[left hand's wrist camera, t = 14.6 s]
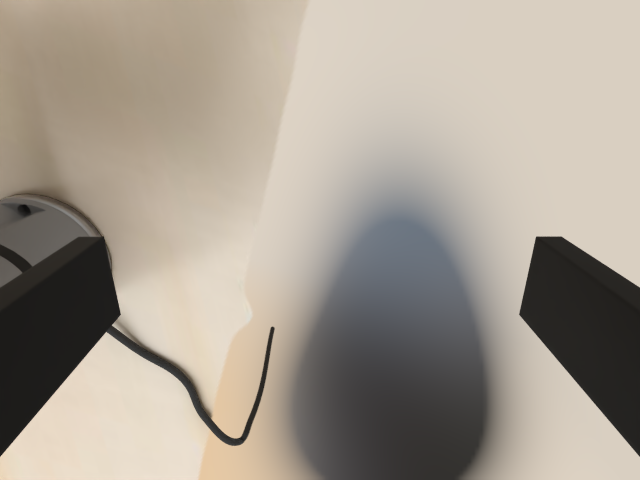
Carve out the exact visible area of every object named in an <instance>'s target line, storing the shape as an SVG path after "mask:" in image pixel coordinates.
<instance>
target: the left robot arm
mask: <svg viewBox="0 0 640 480" xmlns="http://www.w3.org/2000/svg"><path fill="white" fill-rule="evenodd" d="M120 315H121V314H120V309H119V304H118V300H117V295H116V290H115V286H114V281H113V277H112V272H111V259H110V255H109V252H108V249H107V246H106V244H105V240H104V237H101V235H100V233H99V232H98V231H97V229H96V228H95V227H94V226H93V225H92V224H91V222H90V221H89V220H88V219H86V218H85V217H84V216H83V215H82V214H81V213H79V212H78V211H76V210H75V209H73V208H72V207H70V206H68V205H67V204H65V203H62V202H60V201H58V200H55V199H53V198H49V197H46V196H40V195H33V194H22V195H14V196H10V197H7V198H4V199H1V200H0V456H1V455H2V454H3V453H4V452H5V450H6V449H7V448H8V447H9V446H10V445H11V443H12V442H13V441H14V440H15V439H16V437H17V436H18V435H19V434H20V433H21V432H22V430H23V429H24V428H25V427H26V426H27V425H28V423H29V422H30V421H31V420H32V419H33V417H34V416H35V415H36V414H37V413H38V412H39V410H40V409H41V408H42V407H43V406H44V404H45V403H46V402H47V401H48V400H49V399H50V397H51V396H52V395H53V394H54V393H55V391H56V390H57V389H58V388H59V387H60V386H61V384H62V383H63V382H64V381H65V380H66V379H67V377H68V376H69V375H70V374H71V373H72V371H73V370H74V369H75V368H76V367H77V366H78V364H79V363H80V362H81V361H82V360H83V358H84V357H85V356H86V355H87V354H88V353H89V351H90V350H91V349H92V348H93V347H94V346H95V344H96V343H97V342H98V341H99V340H100V338H101V337H102V336H103V335H104V334H105V333H106V332H107V333H109V334H110V335H112V336H113V337H114V338H116V339H117V340H118V341H120V342H121V343H122V344H124V345H125V346H127V347H128V348H129V349H131V350H132V351H134V352H135V353H137V354H138V355H140V356H142V357H143V358H145V359H147V360H149V361H150V362H152V363H154V364H156V365H158V366H160V367H162V368H164V369H165V370H167V371H168V372H170V373H171V374H173V375H174V376H175V377H176V378H178V379H179V380H180V381H181V382H182V384H183V385H184V386H185V387H186V389H187V391H188V393H189V395H190V397H191V400H192V403H193V405H194V407H195V409H196V411H197V413H198V415H199V416H200V417H201V419H202V420H203V421H204V422H205V424H206V425H207V426H208V427H209V428H210V430H211V431H212V432H213V433H214V434H215V435H216V436H217V437H218V438H219V439H220V440H222V441H223V442H224V443H226V444H228V445H232V446H237V445H241V444H242V443H244V442H245V440H246V439H247V437H248V435H249V433H250V429H251V426H252V423H253V421H254V418H255V416H256V413H257V410H258V407H259V404H260V401H261V397H262V394H263V390H264V386H265V381H266V376H267V370H268V365H269V358H270V352H271V345H272V340H273V335H274V330H275V328H274V327H271V329H270V333H269V338H268V343H267V348H266V354H265V360H264V366H263V371H262V376H261V381H260V385H259V389H258V392H257V396H256V399H255V402H254V405H253V408H252V410H251V413H250V415H249V418H248V420H247V423H246V426H245V429H244V431H243V434H242V436H241V437H240V438H238V439H234V438H231V437H229V436H227V435H226V434H224V433H223V432H222V431H221V430H220V429H219V428H218V427H217V425H216V424H215V423H214V422H213V421H212V420H211V418H210V417H209V416H208V415H207V413H206V412H205V411H204V409H203V408H202V406H201V403H200V401H199V398H198V396H197V393H196V391H195V389H194V387H193V385H192V383H191V382H190V380H189V379H188V378H187V377H186V376H185V375H184V374H183V373H182V372H181V371H180V370H179V369H177V368H176V367H175V366H173V365H172V364H170V363H168V362H167V361H165V360H163V359H161V358H159V357H157V356H156V355H154V354H152V353H150V352H148V351H147V350H145V349H143V348H142V347H140V346H139V345H137V344H136V343H135V342H133V341H132V340H130V339H129V338H128V337H126V336H125V335H124V334H122V333H121V332H120V331H118V330H117V329H116V328H114V327H113V326H112V324H113V323H114V322H115V321H116V320H117V318H118V317H119V316H120ZM519 315H520V316H521V317H522V318H523V320H524V321H525V322H526V323H527V324H528V325H529V327H530V328H531V329H532V330H533V331H534V333H535V334H536V335H537V336H538V337H539V338H540V340H541V341H542V342H543V343H544V344H545V346H546V347H547V348H548V349H549V350H550V351H551V353H552V354H553V355H554V356H555V357H556V358H557V360H558V361H559V362H560V363H561V364H562V366H563V367H564V368H565V369H566V370H567V371H568V373H569V374H570V375H571V376H572V377H573V379H574V380H575V381H576V382H577V383H578V384H579V386H580V387H581V388H582V389H583V390H584V391H585V393H586V394H587V395H588V396H589V397H590V399H591V400H592V401H593V402H594V403H595V404H596V406H597V407H598V408H599V409H600V410H601V412H602V413H603V414H604V415H605V416H606V417H607V419H608V420H609V421H610V422H611V423H612V424H613V426H614V427H615V428H616V429H617V430H618V431H619V433H620V434H621V435H622V436H623V437H624V439H625V440H626V441H627V442H628V443H629V445H630V446H631V447H632V448H633V449H634V450H635V452H636V453H637V454H638V455H639V456H640V287H638V286H636V285H635V284H633V283H632V282H630V281H629V280H627V279H626V278H624V277H623V276H621V275H620V274H618V273H617V272H615V271H613V270H612V269H610V268H609V267H607V266H606V265H604V264H603V263H601V262H600V261H598V260H596V259H595V258H593V257H592V256H590V255H589V254H587V253H586V252H584V251H583V250H581V249H580V248H578V247H576V246H575V245H573V244H572V243H570V242H569V241H567V240H566V239H564V238H563V237H536V240H535V244H534V249H533V254H532V258H531V263H530V267H529V272H528V277H527V281H526V286H525V291H524V295H523V300H522V305H521V309H520V314H519Z"/></svg>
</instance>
